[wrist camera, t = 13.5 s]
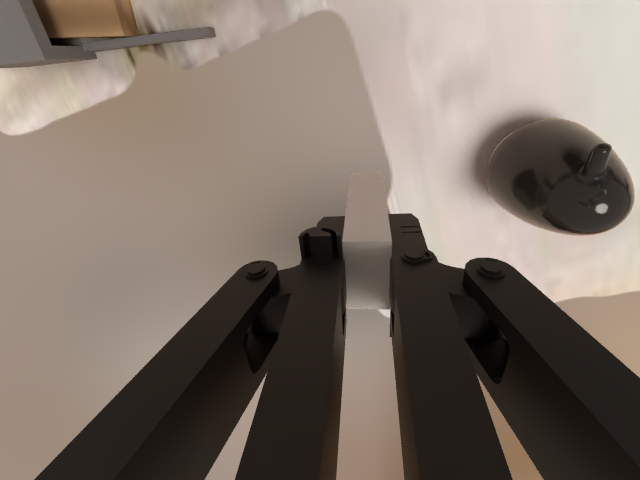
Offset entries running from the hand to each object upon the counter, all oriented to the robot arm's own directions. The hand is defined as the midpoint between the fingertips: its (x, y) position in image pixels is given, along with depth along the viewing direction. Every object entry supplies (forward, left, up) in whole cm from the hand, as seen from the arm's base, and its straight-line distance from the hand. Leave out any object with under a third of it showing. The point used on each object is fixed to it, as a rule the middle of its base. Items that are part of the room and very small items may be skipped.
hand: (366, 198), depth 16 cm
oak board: (-13, -32, -25) cm, 42 cm away
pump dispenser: (+6, +18, -25) cm, 31 cm away
